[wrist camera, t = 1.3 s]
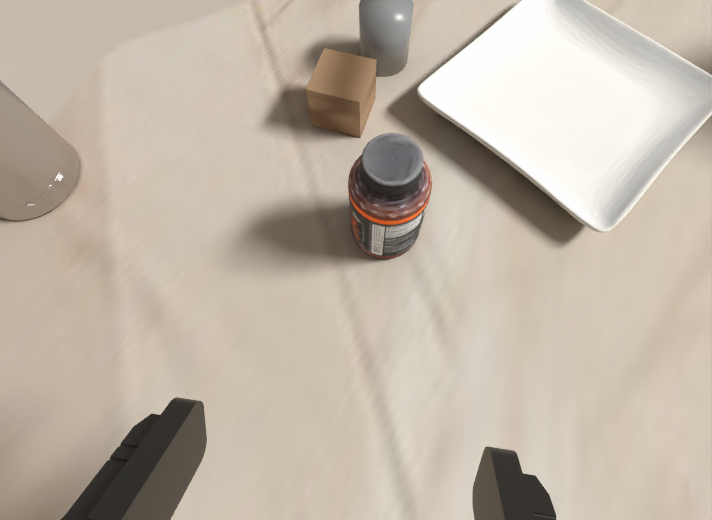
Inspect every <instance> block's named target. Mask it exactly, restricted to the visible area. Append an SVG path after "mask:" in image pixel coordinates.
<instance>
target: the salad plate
mask: <svg viewBox="0 0 712 520" xmlns="http://www.w3.org/2000/svg"><path fill="white" fill-rule="evenodd" d="M417 93H418V96H419V97H420V98H421V99H422V101H423V102H424V103H426V104H427V105H428V106H429V107H430V108H432V109H433V110H435V111H436V112H437V113H439V114H440V115H442V116H443V117H445V118H446V119H448V120H449V121H450V122H452V123H453V124H455V125H456V126H458V127H459V128H461V129H462V130H463V131H465V132H466V133H468V134H469V135H470V136H472V137H473V138H475V139H476V140H477V141H479V142H480V143H481V144H483V145H484V146H486V147H487V148H488V149H490V150H491V151H492V152H494V153H495V154H496V155H497V156H499V157H500V158H501V159H503V160H504V161H505V162H507V163H508V164H509V165H511V166H512V167H513V168H515V169H516V170H517V171H518V172H520V173H521V174H522V175H524V176H525V177H526V178H527V179H529V180H530V181H531V182H532V183H534V184H535V185H536V186H537V187H539V188H540V189H541V190H542V191H543V192H545V193H546V194H547V195H548V196H550V197H551V198H552V199H553V200H554V201H555V202H557V203H558V204H559V205H560V206H561V207H562V208H564V209H565V210H566V211H567V212H568V213H569V214H570V215H572V216H573V217H574V218H575V219H577V220H578V221H579V222H580V223H582V224H583V225H585V226H586V227H588V228H590V229H592V230H594V231H597V232H603V233H604V232H608V231H610V230H612V229H613V228H614V227H615V226H616V225H617V224H618V223H619V222H620V221H621V220H622V219H623V218H624V217H625V216H626V215H627V213H628V212H629V211H630V210H631V209H632V208H633V206H634V205H635V204H636V202H637V201H638V200H639V199H640V198H641V196H642V195H643V194H644V192H645V191H646V190H647V189H648V187H649V186H650V185H651V184H652V182H653V181H654V180H655V179H656V177H657V176H658V175H659V174H660V172H661V171H662V170H663V169H664V168H665V166H666V165H667V164H668V162H669V161H670V160H671V159H672V158H673V157H674V155H675V154H676V153H677V152H678V151H679V150H680V149H681V148H682V146H683V145H684V144H685V143H686V142H687V141H688V140H689V139H690V138H691V136H692V135H693V134H694V133H695V132H696V131H697V130H698V129H699V128H700V127H701V126H702V125H703V124H704V122H705V121H706V120H707V119H708V118H709V117H710V116H711V115H712V75H711V74H709V73H707V72H706V71H704V70H702V69H701V68H699V67H697V66H696V65H694V64H692V63H690V62H689V61H687V60H685V59H684V58H682V57H681V56H679V55H677V54H675V53H674V52H672V51H670V50H668V49H667V48H665V47H663V46H662V45H660V44H658V43H657V42H655V41H653V40H652V39H650V38H648V37H647V36H645V35H643V34H642V33H640V32H638V31H637V30H635V29H633V28H632V27H630V26H628V25H626V24H625V23H623V22H621V21H620V20H618V19H616V18H614V17H613V16H611V15H609V14H608V13H606V12H604V11H603V10H601V9H599V8H598V7H596V6H594V5H593V4H591V3H589V2H588V1H586V0H521V1H519V2H518V3H517V4H516V5H515V6H514V7H513V8H512V9H510V10H509V11H508V12H507V13H506V14H505V15H504V16H502V17H501V18H500V19H499V20H498V21H497V22H495V23H494V24H493V25H492V26H491V27H490V28H488V29H487V30H486V31H485V32H484V33H482V34H481V35H480V36H479V37H478V38H476V39H475V40H474V41H472V42H471V43H470V44H469V45H468V46H466V47H465V48H464V49H463V50H461V51H460V52H459V53H458V54H457V55H455V56H454V57H453V58H451V59H450V60H449V61H448V62H447V63H445V64H444V65H443V66H441V67H440V68H439V69H438V70H437V71H435V72H434V73H433V74H432V75H430V76H429V77H428V78H427V79H426V80H425V81H423V82H422V83H421V84H420V85H419V86H418V88H417Z"/></svg>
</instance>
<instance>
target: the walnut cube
mask: <svg viewBox="0 0 712 520" xmlns="http://www.w3.org/2000/svg"><path fill="white" fill-rule="evenodd" d="M375 92H376V60H375V59H371V58H366V57H362V56H358V55H353V54H349V53H345V52H340V51H336V50H331V49H327V48H324V50H323V52H322V54H321V56H320V59H319V61H318V63H317V65H316V67H315V70H314V72H313V74H312V76H311V78H310V81H309V83H308V85H307V87H306V94H307V100H308V105H309V110H310V116H311V121H312V126H316V127H320V128H324V129H328V130H332V131H336V132H339V133H343V134H347V135H351V136H355V137H359V138H360V137H361V135H362V132H363V130H364V127H365V124H366V122H367V119H368V116H369V114H370V111H371V109H372V106H373V103H374V101H375Z"/></svg>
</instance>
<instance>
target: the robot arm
mask: <svg viewBox="0 0 712 520" xmlns="http://www.w3.org/2000/svg"><path fill="white" fill-rule="evenodd" d="M79 173H80V160H79V157H78V155H77V153H76V151H75V150H74V148H73V147H72V146H71V145H70V144H69V143H68V142H66V141H65V140H64V139H63V138H62V137H61V136H60V135H59V134H58V133H57V132H56V131H54V130H53V129H52V128H51V127H50V126H49V125H48V124H47V123H46V122H45V121H44V120H42V119H41V118H40V117H39V116H38V115H37V114H36V113H35V112H34V111H33V110H32V109H31V108H29V107H28V106H27V105H26V104H25V103H24V102H23V101H22V100H21V99H20V98H19V97H17V96H16V95H15V94H14V93H13V92H12V91H11V90H10V89H9V88H7V86H5V85H4V84H3V83H2V82H1V81H0V217H1V218H4V219H8V220H27V219H33V218H35V217H38V216H41V215H44V214H45V213H47V212H49V211H51V210H53V209H54V208H56V207H57V206H58V205H60V204H61V203H62V202H63V201H64V200H65V199H66V198H67V197H68V196H69V195H70V193H71V192H72V190H73V189H74V187H75V185H76V183H77V180H78V178H79ZM206 442H207V437H206V426H205V416H204V406H203V403H202V402H201V401H196V400H190V399H183V398H174V399H173V400H171V402H170V403H169V404H168V406H167V407H166V408H165V410H164V411H163V413H162V414H161V415H157V414H151V415H149V416H148V417H147V418H145V419H144V420H142V421H141V422H140V423H138V424H137V425H136V426H134V427H133V428H132V430H131V431H130V432H129V434H128V435H127V436H126V437H125V439H124V440H123V441H122V443H121V445H120V447H118V448H117V449H116V450H115V452H114V453H113V454H112V455H111V457H110V460H109V461H107V462H106V463H105V465H104V466H103V467H102V468H101V470H100V471H99V472H98V474H97V475H96V476H95V477H94V479H93V480H92V481H91V483H90V484H89V485H88V486H87V488H86V489H85V490H84V492H83V493H82V494H81V496H80V497H79V498H78V499H77V501H76V502H75V503H74V505H73V506H72V507H71V508H70V510H69V511H68V512H67V513H66V515H65V516H64V517H63V518H62V519H61V520H170V519H171V517H172V515H173V514H174V512H175V510H176V508H177V506H178V504H179V502H180V500H181V499H182V497H183V495H184V493H185V491H186V489H187V487H188V485H189V484H190V482H191V480H192V478H193V476H194V474H195V472H196V470H197V468H198V467H199V465H200V463H201V461H202V458H203V456H204V452H205V448H206ZM473 511H474V518H475V520H556V514H555V511H554V508H553V505H552V502H551V499H550V496H549V494H548V493H547V491H546V490H545V488H544V487H543V486H542V484H541V483H540V482H539V480H538V479H537V477H536V476H534V475H528V474H523V473H522V470H521V466H520V463H519V459H518V456H517V454H516V452H515V451H512V450H506V449H499V448H493V447H485V449H484V452H483V455H482V458H481V462H480V465H479V468H478V472H477V475H476V478H475V482H474V486H473Z"/></svg>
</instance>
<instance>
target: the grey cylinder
mask: <svg viewBox="0 0 712 520" xmlns="http://www.w3.org/2000/svg"><path fill="white" fill-rule="evenodd" d="M412 15H413V2H412V0H361V1H360V4H359V20H360V56H362V57H366V58H371V59H375V60H376V76H381V77H386V76H392V75H395V74H397V73H399V72H400V71H401V70H403V68H404V67H405V66H406V63H407V59H408V50H409V41H410V33H411V24H412Z"/></svg>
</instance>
